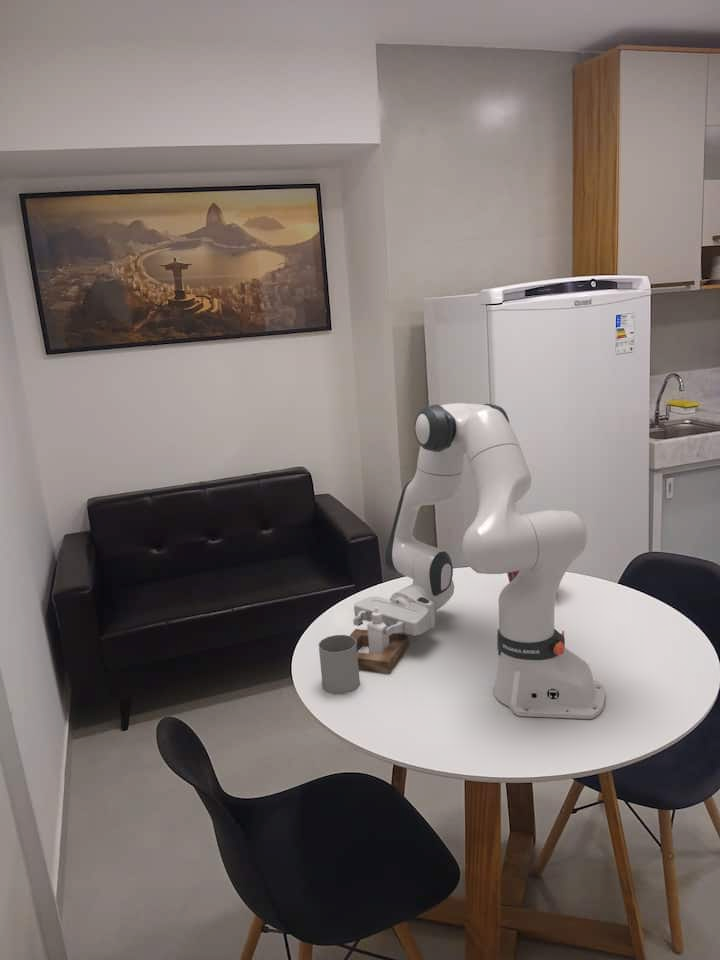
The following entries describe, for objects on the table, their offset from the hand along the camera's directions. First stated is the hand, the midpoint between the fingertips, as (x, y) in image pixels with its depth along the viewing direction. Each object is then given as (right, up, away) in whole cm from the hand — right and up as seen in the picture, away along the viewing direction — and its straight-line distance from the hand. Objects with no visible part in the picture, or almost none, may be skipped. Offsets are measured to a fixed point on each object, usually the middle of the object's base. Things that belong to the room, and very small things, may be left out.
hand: (370, 627), depth 172 cm
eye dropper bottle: (+2, -7, +2) cm, 8 cm away
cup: (-7, -11, -10) cm, 16 cm away
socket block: (+1, -7, +2) cm, 8 cm away
